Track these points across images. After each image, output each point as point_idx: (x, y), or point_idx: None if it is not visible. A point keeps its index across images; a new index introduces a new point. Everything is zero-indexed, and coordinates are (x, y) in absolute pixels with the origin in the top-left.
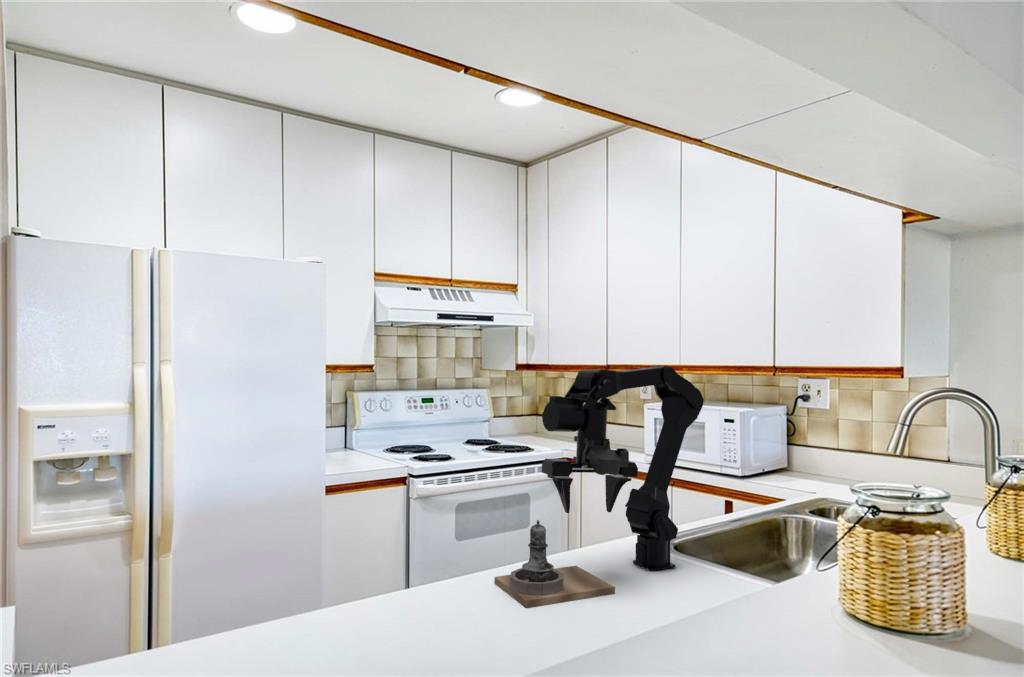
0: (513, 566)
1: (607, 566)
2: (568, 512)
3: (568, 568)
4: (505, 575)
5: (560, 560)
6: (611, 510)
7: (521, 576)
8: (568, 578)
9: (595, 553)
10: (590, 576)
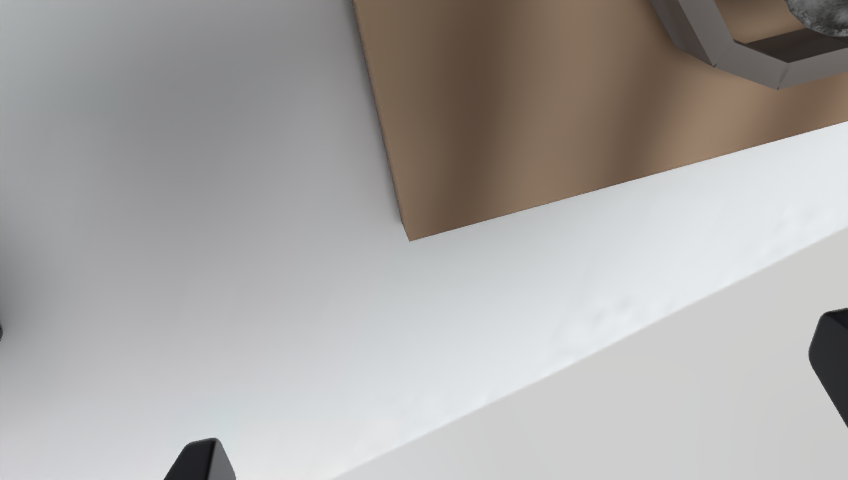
0: (656, 314)
1: (188, 294)
2: (837, 312)
3: (473, 196)
4: (827, 124)
5: (417, 383)
6: (179, 458)
7: None
8: (552, 11)
9: None
10: (398, 26)
